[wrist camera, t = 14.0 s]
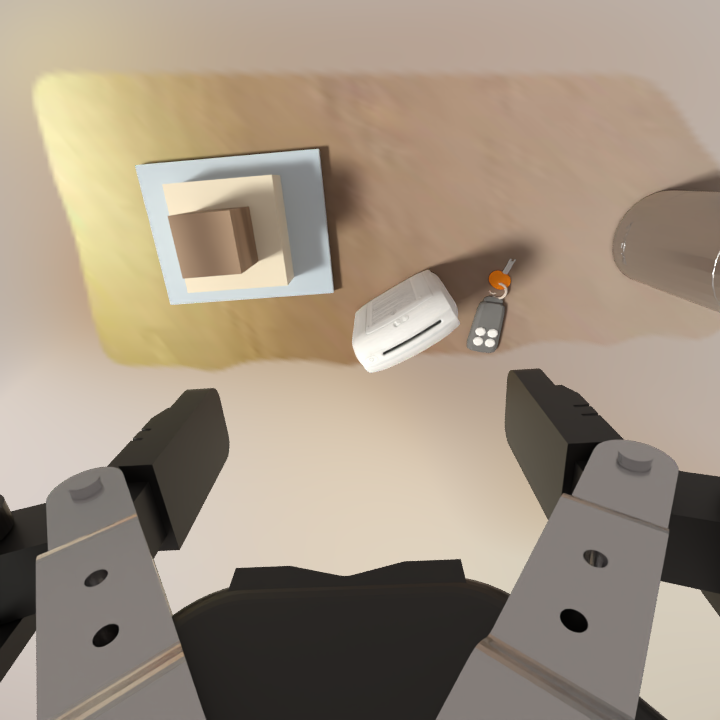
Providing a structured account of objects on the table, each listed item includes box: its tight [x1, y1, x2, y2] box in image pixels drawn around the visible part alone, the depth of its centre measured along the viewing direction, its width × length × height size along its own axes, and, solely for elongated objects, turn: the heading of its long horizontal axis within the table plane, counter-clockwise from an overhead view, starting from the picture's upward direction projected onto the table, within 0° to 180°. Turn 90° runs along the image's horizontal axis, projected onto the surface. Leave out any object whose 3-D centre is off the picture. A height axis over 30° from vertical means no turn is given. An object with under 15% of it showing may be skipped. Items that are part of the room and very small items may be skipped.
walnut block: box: [168, 206, 259, 279], centre depth 38 cm, size 5×5×6 cm
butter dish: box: [135, 149, 334, 305], centre depth 43 cm, size 18×14×5 cm
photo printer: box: [352, 270, 460, 373], centre depth 42 cm, size 10×4×12 cm, turn 122°
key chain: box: [467, 259, 516, 353], centre depth 47 cm, size 13×4×2 cm, turn 172°
